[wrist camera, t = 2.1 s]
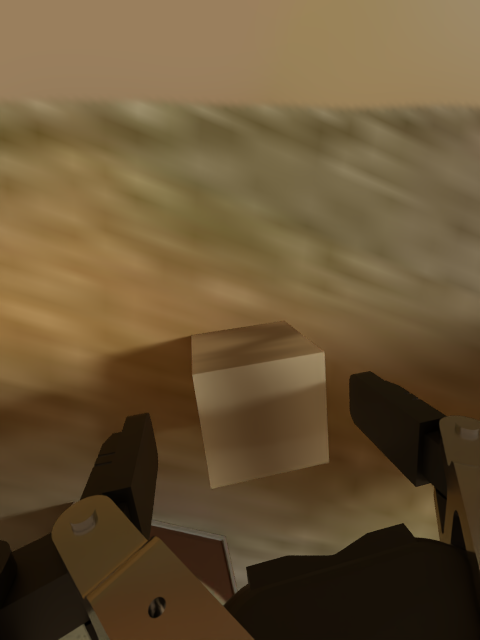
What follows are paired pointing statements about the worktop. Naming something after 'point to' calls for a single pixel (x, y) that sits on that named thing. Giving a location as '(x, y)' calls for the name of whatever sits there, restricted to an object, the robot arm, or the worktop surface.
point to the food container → (192, 561)
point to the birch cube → (259, 401)
